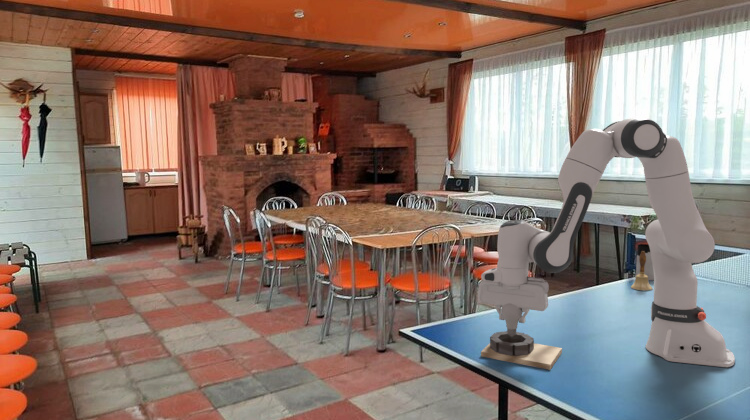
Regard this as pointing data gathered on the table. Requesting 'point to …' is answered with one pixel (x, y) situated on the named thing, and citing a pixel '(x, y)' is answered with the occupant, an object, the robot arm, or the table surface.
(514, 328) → the lightbulb
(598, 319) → the table surface
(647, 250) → the glass holder
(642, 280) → the hand bell
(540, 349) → the socket board
